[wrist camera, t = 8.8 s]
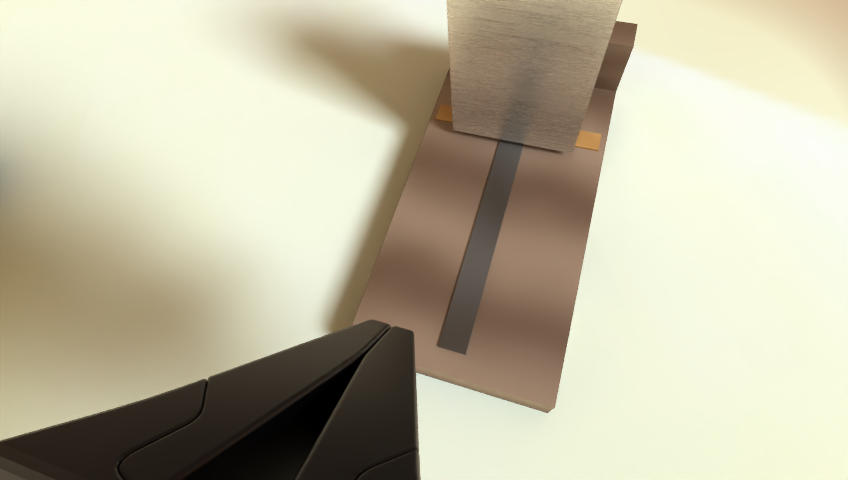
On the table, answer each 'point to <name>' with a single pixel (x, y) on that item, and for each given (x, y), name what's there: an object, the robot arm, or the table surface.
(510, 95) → the fader tab
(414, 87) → the table surface
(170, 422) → the robot arm
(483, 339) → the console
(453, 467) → the table surface
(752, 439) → the table surface
